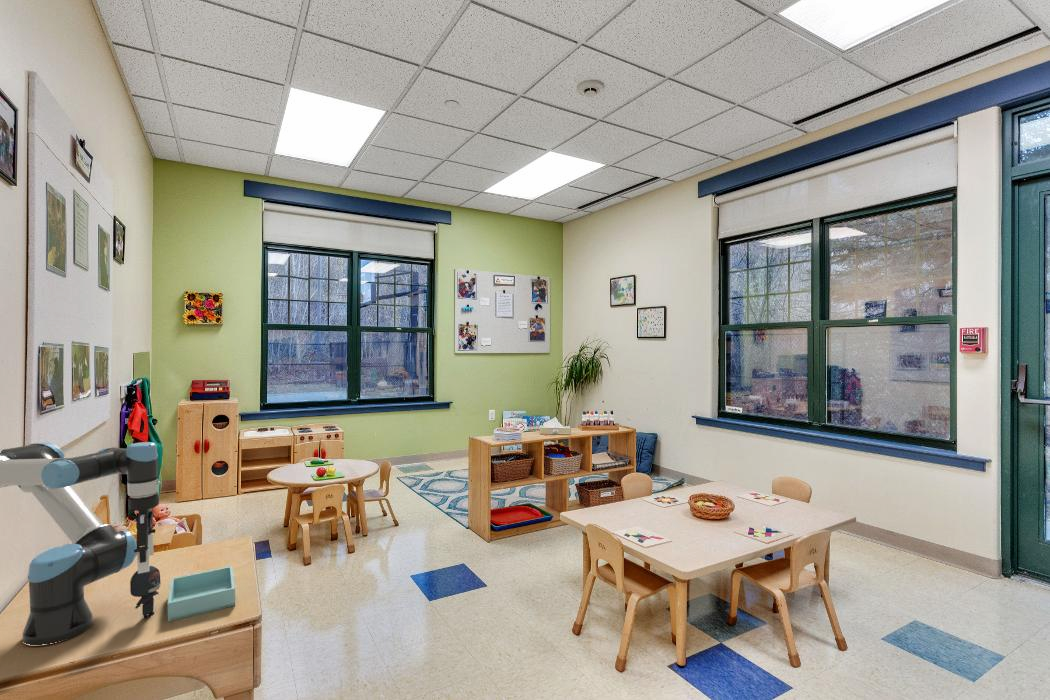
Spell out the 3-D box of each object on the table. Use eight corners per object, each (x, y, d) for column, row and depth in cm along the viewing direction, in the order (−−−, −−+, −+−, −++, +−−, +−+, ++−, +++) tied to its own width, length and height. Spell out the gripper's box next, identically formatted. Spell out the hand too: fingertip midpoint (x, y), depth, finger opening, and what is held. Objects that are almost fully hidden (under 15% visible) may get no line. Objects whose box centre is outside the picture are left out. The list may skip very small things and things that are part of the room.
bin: (168, 621, 156) (167, 603, 156) (171, 594, 172) (171, 578, 172) (235, 605, 166) (234, 588, 165) (232, 581, 182) (232, 565, 181)
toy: (148, 624, 155) (147, 574, 155) (122, 624, 155) (121, 574, 155) (170, 608, 164) (168, 560, 164) (145, 607, 164) (144, 560, 164)
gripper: (155, 503, 150) (157, 576, 150) (161, 482, 171) (163, 546, 172) (122, 508, 146) (125, 583, 147) (133, 486, 167) (135, 551, 168)
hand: (146, 563), depth 159 cm, fingers open, 13 cm apart
